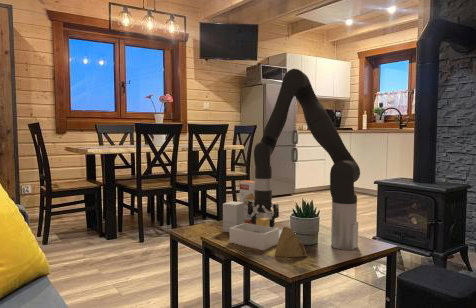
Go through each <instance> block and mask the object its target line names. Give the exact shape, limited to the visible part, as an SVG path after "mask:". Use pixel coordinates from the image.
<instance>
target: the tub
mask: <svg viewBox="0 0 476 308" xmlns="http://www.w3.org/2000/svg"><path fill="white" fill-rule="evenodd" d="M228 239H229V242H228V243H229V244H232V243H234V244H233V245H236V244H238V245H237V246H241V245H242V247H247V248H251V249H256V250H260V251H266V250H268V249H270V248H272V247H274V246H275V247H276V246H277V243H278V241H279V227H267V226H261V225H255V224H249V223H243V224H240V225H237V226H234V227H231V228H230V232H229V238H228Z"/></svg>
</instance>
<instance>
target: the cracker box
mask: <svg viewBox="0 0 476 308" xmlns="http://www.w3.org/2000/svg"><path fill="white" fill-rule="evenodd" d="M254 184H255V180H248V179H247V180H241V181H239V202H244V223H249V224H252V216H251V215H248V202H249V201H252V200H253V201H254V202H255V199H254ZM255 208H256V207H255V205H254V206H253V210H254V209H255ZM256 216H257V218H260V217H262V218H269V216H268V215H267V214H266V213H263V212H258V213H257V215H256ZM269 219H270V218H269Z"/></svg>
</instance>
